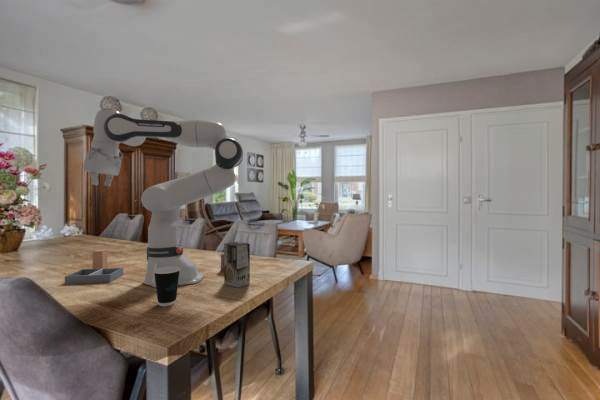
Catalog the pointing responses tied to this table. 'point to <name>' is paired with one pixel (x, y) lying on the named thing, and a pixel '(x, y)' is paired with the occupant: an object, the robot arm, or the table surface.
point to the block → (99, 259)
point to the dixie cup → (166, 284)
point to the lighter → (222, 261)
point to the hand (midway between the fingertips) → (101, 185)
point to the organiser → (94, 275)
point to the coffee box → (237, 264)
